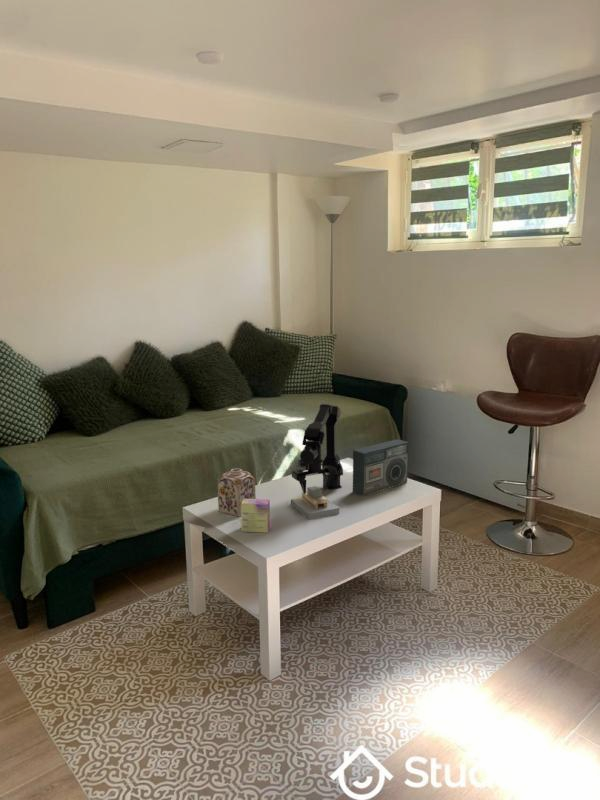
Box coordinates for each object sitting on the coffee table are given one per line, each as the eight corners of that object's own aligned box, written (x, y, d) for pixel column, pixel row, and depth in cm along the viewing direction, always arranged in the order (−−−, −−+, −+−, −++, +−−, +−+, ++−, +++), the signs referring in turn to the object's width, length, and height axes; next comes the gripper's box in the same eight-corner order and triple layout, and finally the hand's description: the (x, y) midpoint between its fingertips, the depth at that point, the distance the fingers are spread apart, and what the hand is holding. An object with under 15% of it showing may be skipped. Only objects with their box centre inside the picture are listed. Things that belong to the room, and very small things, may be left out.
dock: (319, 499, 268) (319, 493, 268) (339, 513, 252) (339, 507, 252) (290, 504, 262) (290, 498, 262) (308, 519, 246) (308, 513, 246)
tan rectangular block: (314, 497, 263) (314, 490, 263) (327, 507, 253) (327, 499, 252) (302, 499, 261) (302, 492, 260) (314, 509, 250) (314, 501, 250)
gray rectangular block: (315, 492, 260) (315, 485, 259) (322, 497, 254) (322, 490, 254) (307, 494, 258) (307, 487, 257) (313, 498, 253) (313, 491, 252)
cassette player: (363, 496, 272) (364, 453, 268) (352, 492, 278) (353, 450, 273) (407, 482, 290) (408, 442, 286) (396, 478, 295) (397, 439, 291)
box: (270, 527, 239) (269, 498, 237) (268, 533, 234) (267, 504, 231) (244, 526, 240) (243, 498, 238) (241, 532, 235) (240, 503, 232)
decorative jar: (239, 517, 248) (238, 476, 245) (217, 512, 255) (216, 471, 251) (256, 508, 258) (256, 468, 255) (235, 503, 264) (234, 463, 261)
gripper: (325, 448, 264) (325, 483, 267) (286, 454, 256) (286, 489, 259) (337, 455, 254) (337, 491, 257) (297, 461, 246) (297, 497, 249)
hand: (314, 492), depth 256 cm, fingers open, 9 cm apart
